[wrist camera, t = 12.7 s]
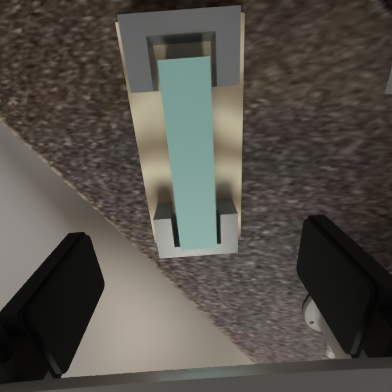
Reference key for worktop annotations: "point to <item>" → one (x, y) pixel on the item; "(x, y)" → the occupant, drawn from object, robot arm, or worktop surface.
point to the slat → (190, 147)
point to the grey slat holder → (147, 82)
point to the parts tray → (389, 84)
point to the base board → (157, 139)
